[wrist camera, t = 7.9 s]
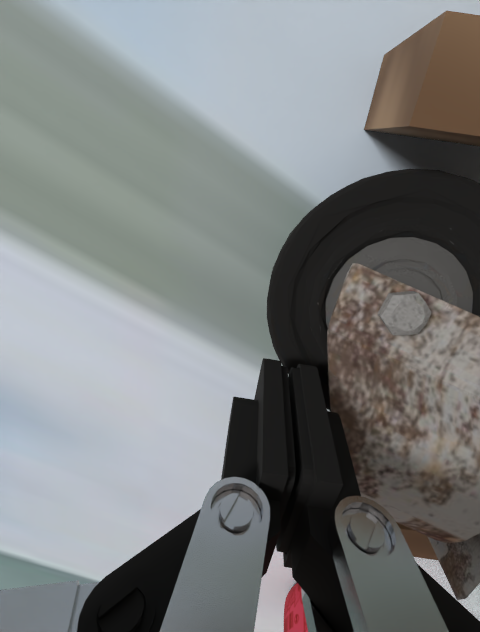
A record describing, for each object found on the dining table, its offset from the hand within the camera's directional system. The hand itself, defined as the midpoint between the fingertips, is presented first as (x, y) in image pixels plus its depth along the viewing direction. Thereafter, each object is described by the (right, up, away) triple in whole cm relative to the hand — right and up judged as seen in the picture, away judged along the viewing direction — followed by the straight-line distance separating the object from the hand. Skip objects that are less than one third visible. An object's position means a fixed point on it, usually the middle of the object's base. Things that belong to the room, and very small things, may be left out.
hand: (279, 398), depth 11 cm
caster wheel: (+4, +3, +4) cm, 6 cm away
